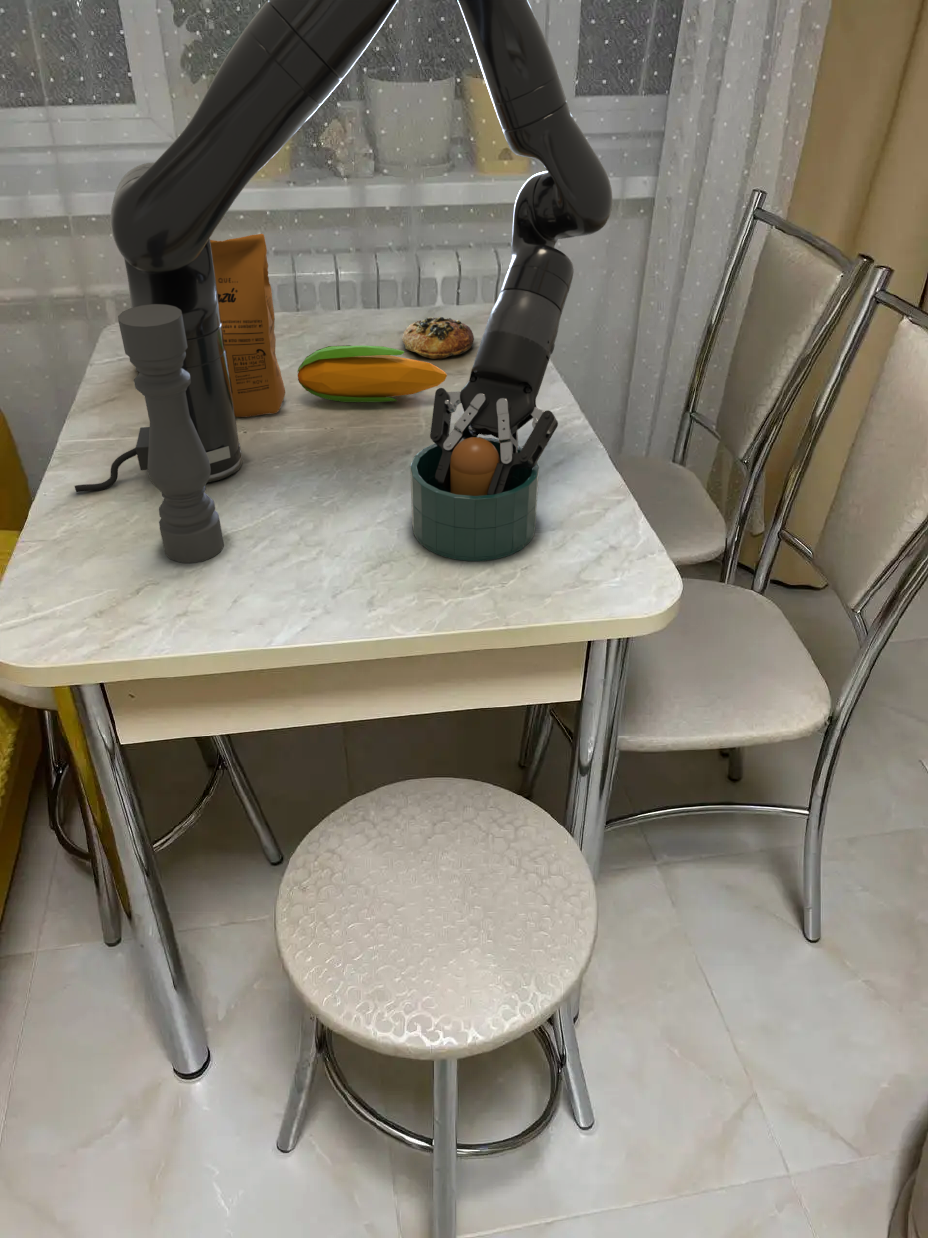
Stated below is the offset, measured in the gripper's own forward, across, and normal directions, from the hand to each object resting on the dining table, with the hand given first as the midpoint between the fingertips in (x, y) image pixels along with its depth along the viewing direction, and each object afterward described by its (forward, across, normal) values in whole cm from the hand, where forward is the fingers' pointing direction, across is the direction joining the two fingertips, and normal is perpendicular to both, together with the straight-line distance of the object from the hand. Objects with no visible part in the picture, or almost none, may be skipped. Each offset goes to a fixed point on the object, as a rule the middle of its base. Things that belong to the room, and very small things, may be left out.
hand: (467, 493), depth 103 cm
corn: (-14, -26, +22) cm, 37 cm away
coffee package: (-8, -42, +15) cm, 45 cm away
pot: (+2, 0, +5) cm, 5 cm away
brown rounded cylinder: (+2, 0, +4) cm, 5 cm away
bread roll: (-28, -27, +36) cm, 53 cm away
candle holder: (+14, -25, -7) cm, 30 cm away
